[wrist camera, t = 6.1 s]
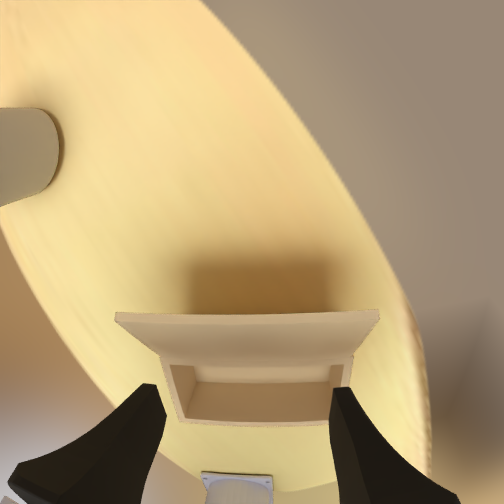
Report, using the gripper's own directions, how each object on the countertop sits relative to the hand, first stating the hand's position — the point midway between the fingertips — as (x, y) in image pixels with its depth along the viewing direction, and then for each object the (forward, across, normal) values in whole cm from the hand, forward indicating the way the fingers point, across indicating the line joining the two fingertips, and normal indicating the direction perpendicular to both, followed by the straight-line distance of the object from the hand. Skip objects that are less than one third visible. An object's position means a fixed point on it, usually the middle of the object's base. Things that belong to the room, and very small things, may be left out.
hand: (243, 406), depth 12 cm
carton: (+9, 0, +4) cm, 10 cm away
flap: (+3, 0, -1) cm, 3 cm away
